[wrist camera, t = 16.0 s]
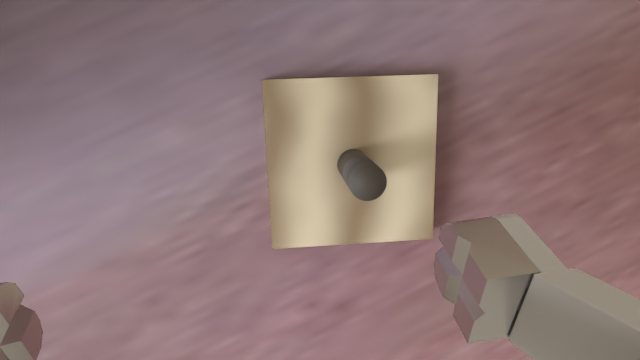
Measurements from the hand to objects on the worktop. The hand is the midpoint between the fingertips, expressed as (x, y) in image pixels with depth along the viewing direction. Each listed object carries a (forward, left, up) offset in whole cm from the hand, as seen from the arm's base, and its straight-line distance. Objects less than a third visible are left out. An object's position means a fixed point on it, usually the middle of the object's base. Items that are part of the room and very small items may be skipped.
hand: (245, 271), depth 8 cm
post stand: (+6, -2, -23) cm, 24 cm away
